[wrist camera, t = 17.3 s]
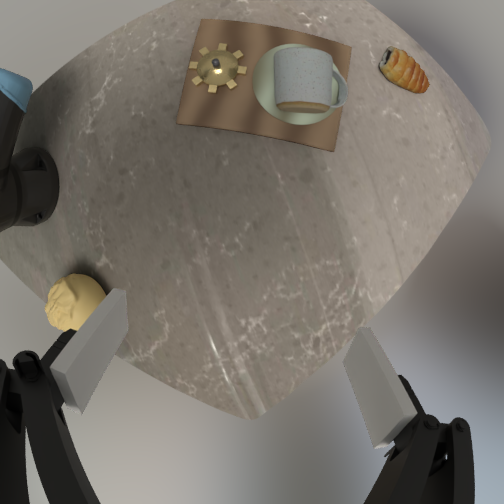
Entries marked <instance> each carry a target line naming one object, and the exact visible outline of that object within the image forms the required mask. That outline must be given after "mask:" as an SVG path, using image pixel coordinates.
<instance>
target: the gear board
mask: <svg viewBox="0 0 504 504" xmlns="http://www.w3.org/2000/svg"><path fill="white" fill-rule="evenodd" d="M219 43H223V44H227V46H228V48H227V51H228V52H230V53H232V54H233V53H235V52H236V51H238V50H240V51H241V52H242V54H243V55H244V58H243V59H241V60H239V61H238V65H239V66H243V67H247V71H246V76H242V75H237V77H236V78H235V79H234V82H235V83H236V84H237V87H236V88H235V89H233V90H232V91H231V90H230V89H229V88H228V87H227V85H225V86H222V87H218V91H217V94H210V93H208V89H209V85H207V84H205V83H203V84H201V85H200V86H199V87H197V86H196V85H195V84H194V83H193V81H192V79H194V78H195V77H197V76H198V73H197V71H193V70H190V69H189V66H190V62H199V60H200V59H201V57H202V55H201V54H200V52H199V50H201V49H202V48H204V47H206V48H207V49H208V50H209V52H210V51H213V50H218V47H219ZM289 47H307V48H314V49H318V50H322V51H324V52H326V53H328V54H330V55H331V56H332V59H333V69H334V70H336V71H337V72H338V73H340V74H341V75H342V77H343V78H344V79H345V81H346V83H347V76H348V69H349V62H350V55H351V47H350V46H347V45H344V44H341V43H338V42H335V41H331V40H328V39H325V38H321V37H318V36H314V35H310V34H306V33H302V32H298V31H293V30H289V29H284V28H279V27H274V26H268V25H262V24H255V23H247V22H239V21H229V20H215V19H201V22H200V26H199V29H198V32H197V36H196V39H195V43H194V47H193V50H192V54H191V58H190V62H189V66H188V70H187V74H186V78H185V82H184V87H183V91H182V96H181V101H180V106H179V111H178V116H177V121H176V124H180V125H190V126H200V127H208V128H216V129H223V130H230V131H236V132H243V133H248V134H254V135H260V136H265V137H270V138H275V139H280V140H285V141H289V142H294V143H298V144H303V145H307V146H311V147H315V148H319V149H323V150H327V151H330V152H334V149H335V145H336V139H337V134H338V129H339V124H340V118H341V113H342V107H343V105H342V106H341V107H338V108H329V110H328V111H327V112H325V113H316V114H315V113H294V112H287V111H282V110H280V109H279V108H278V107H277V106H276V102H275V97H274V54H275V53H276V52H277V51H279V50H281V49H285V48H289ZM338 95H339V85H338V82H337V80H336V79H335V78H334V77H333V76H332V100H331V105H334V104H335V103H337V101H338Z"/></svg>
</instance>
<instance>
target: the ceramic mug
mask: <svg viewBox="0 0 504 504" xmlns="http://www.w3.org/2000/svg"><path fill="white" fill-rule="evenodd" d="M332 76H333V77H334V78H335V79H336V80H337V82H338V85H339V95H338V101H337V103H335V104H334V105H331V100H332ZM347 96H348V87H347V83H346V81H345V79H344V78H343V77H342V75H341V74H340V73H338V72H337V71H336V70H334V69H333V59H332V56H331V55H330V54H328V53H326V52H324V51H322V50H318V49H314V48H307V47H289V48H285V49H281V50H279V51H277V52H276V53H275V54H274V97H275V102H276V106H277V107H278V108H279V109H280V110H282V111H287V112H294V113H315V114H316V113H325V112H327V111H328V110H329V108H338V107H341V106H342V105H343V104H344V103H345V102H346V99H347Z"/></svg>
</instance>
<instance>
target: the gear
mask: <svg viewBox="0 0 504 504" xmlns="http://www.w3.org/2000/svg"><path fill="white" fill-rule="evenodd" d="M227 48H228V46H227V44H223V43H219V47H218V50H213V51H210V52H209V50H208V49H207V48H206V47H204V48H202V49H201V50H199V52H200V54H201V55H202V57H201V59H200V60H199V62H190V66H189V69H190V70H193V71H197V73H198V76H197V77H195V78H194V79H192V81H193V83H194V84H195V85H196V86H197V87H199V86H200V85H201V84H203V83H205V84H207V85H209V89H208V93H210V94H217V91H218V87H222V86H225V85H227V87H228V88H229V89H230V90H231V91H232V90H233V89H235V88H236V87H237V84H236V83H235V82H234V79H235V78H236V77H237V75H242V76H246V71H247V67H243V66H239V65H238V61H239V60H241V59H243V58H244V55H243V54H242V52H241V51H240V50H238V51H236V52H235V53H233V54H232V53H230V52H228V51H227Z"/></svg>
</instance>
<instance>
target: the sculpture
mask: <svg viewBox="0 0 504 504" xmlns="http://www.w3.org/2000/svg"><path fill="white" fill-rule="evenodd" d="M105 297H106V294H105V292H104V290H103V289H102V287H101V286H100V285H99V284H98V283H97V282H96V281H95V280H94V279H92V278H91V277H89V276H86V275H83V274H75V273H73V274H69V275H68V276H67V277H62V278H61V279H59V280H58V281H57V282H55V283H54V286H53V287H51V290H50V292H49V294H48V302H47V304H46V305H45V311H46V313H47V317H48V320H49V322H50V323H51V325H52V326H54V327H57V328H58V329H59V330H63V331H64V332H65V331H67V330H69V329H70V328H71V329H74V330H76V331H78V330H79V328H80V327H81V326H82V325H83V323H84V322H85V321H86V320H87V319H88V317H89V316H90V315H91V314H92V313H93V311H94V310H95V309H96V308H97V307H98V305H99V304H100V303H101V302H102V301H103V300H104V299H105Z"/></svg>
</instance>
